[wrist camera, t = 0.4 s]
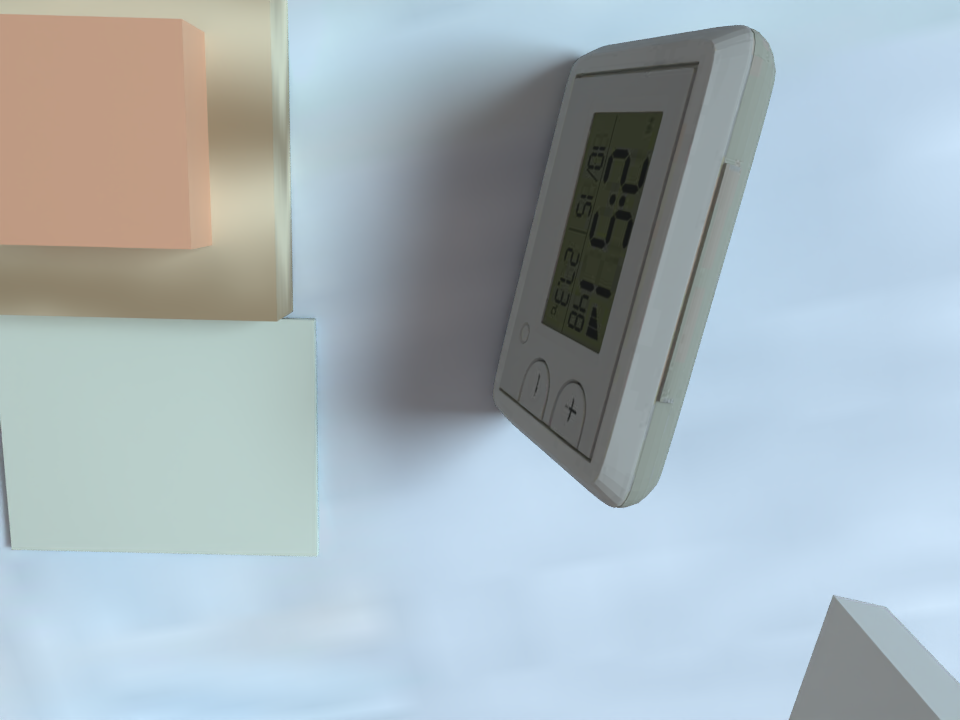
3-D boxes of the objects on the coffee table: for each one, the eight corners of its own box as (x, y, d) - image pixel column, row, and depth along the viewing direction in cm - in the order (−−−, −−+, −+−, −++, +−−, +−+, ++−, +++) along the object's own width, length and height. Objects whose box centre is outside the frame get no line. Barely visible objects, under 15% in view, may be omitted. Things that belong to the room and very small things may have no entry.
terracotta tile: (18, 27, 32) (-20, 13, 29) (204, 32, 32) (181, 18, 29) (35, 240, 33) (0, 244, 31) (212, 245, 33) (191, 249, 31)
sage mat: (-4, 310, 37) (-9, 312, 37) (315, 318, 37) (314, 320, 37) (16, 546, 39) (11, 549, 39) (318, 552, 39) (317, 556, 39)
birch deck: (-15, -93, 34) (-61, -120, 31) (285, -84, 34) (267, -110, 31) (18, 304, 37) (-22, 314, 34) (292, 311, 37) (277, 321, 34)
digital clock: (588, 29, 35) (635, -42, 24) (780, 123, 36) (905, 94, 25) (428, 377, 38) (410, 448, 27) (609, 457, 38) (658, 556, 28)
